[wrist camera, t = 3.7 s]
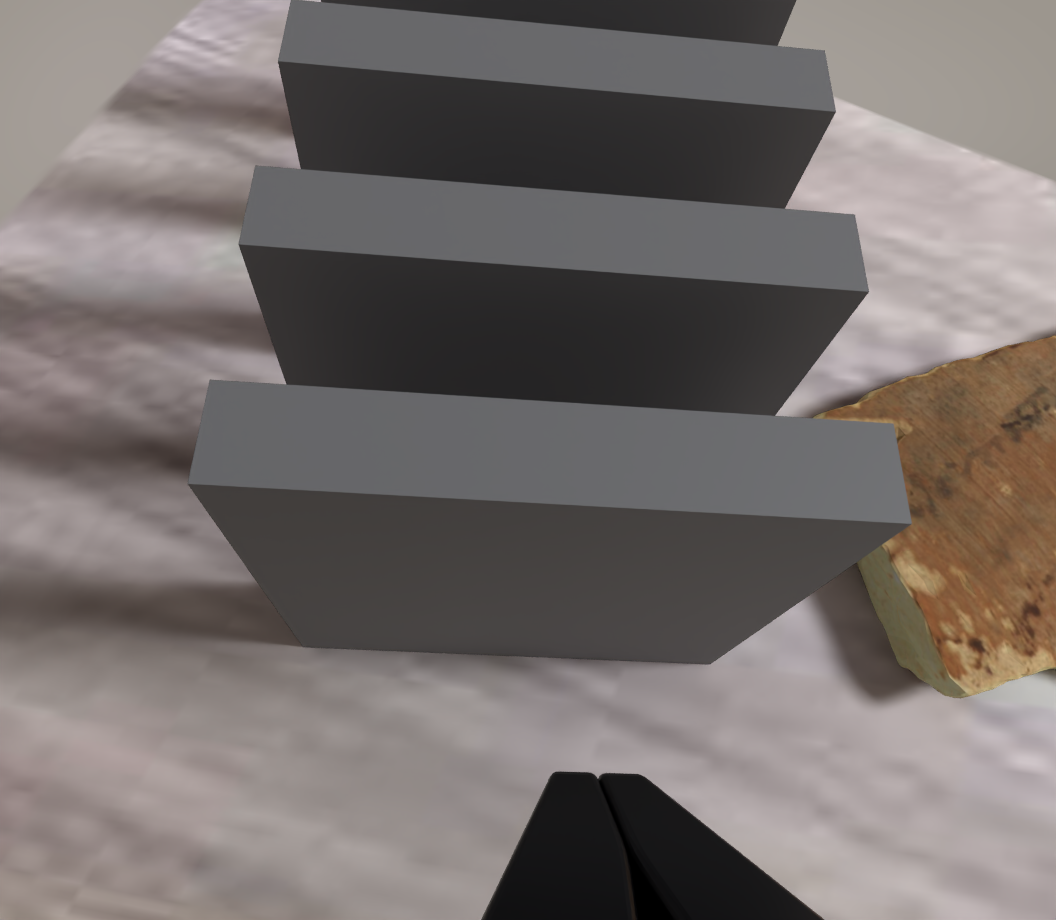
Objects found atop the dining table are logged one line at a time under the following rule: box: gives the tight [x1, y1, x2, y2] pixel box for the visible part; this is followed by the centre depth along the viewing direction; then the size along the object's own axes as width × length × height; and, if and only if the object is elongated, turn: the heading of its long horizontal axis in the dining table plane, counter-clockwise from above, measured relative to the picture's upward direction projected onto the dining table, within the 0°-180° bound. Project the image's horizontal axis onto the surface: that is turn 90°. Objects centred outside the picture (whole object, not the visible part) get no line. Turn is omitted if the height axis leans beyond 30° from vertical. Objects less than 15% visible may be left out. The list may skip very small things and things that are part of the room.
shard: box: [813, 335, 1056, 698], centre depth 23 cm, size 13×9×2 cm
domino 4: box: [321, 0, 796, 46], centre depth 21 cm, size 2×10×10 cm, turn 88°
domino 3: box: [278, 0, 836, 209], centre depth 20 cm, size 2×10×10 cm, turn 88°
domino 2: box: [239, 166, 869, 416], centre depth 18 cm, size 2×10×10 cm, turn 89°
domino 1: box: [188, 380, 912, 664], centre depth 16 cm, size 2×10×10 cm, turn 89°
